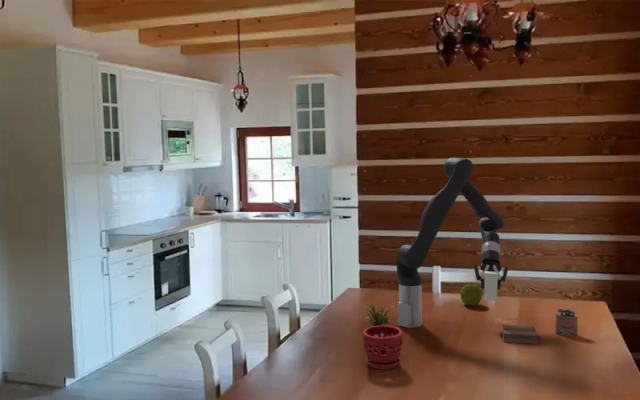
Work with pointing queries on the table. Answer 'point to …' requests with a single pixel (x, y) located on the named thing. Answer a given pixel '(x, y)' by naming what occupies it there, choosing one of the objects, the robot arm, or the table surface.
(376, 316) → the house plant
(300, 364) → the table surface
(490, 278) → the sage pillar
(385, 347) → the plant pot
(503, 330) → the walnut base
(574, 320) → the lighter
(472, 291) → the apple
